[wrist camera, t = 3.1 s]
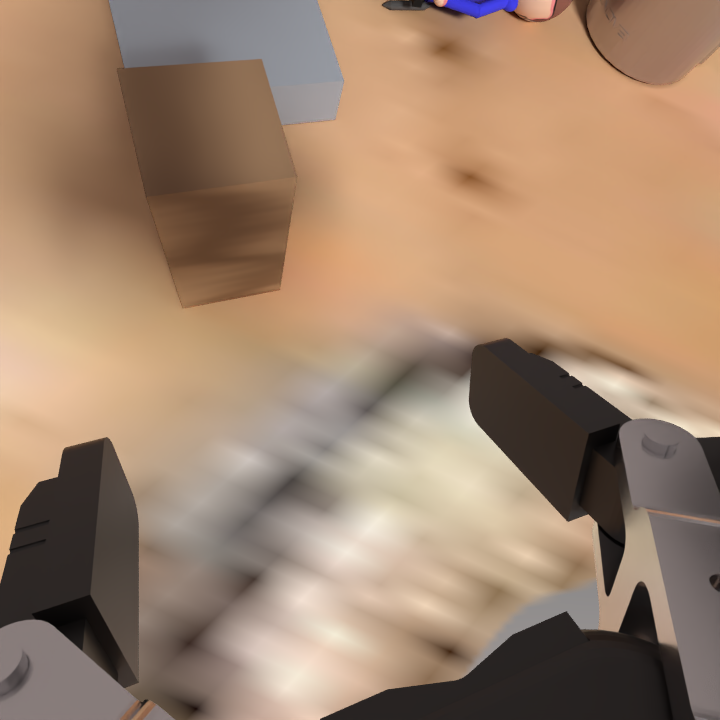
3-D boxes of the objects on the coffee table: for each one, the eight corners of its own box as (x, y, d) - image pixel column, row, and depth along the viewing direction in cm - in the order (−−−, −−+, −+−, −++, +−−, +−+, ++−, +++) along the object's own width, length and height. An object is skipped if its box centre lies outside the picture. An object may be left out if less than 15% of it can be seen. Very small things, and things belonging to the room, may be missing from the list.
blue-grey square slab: (288, -25, 33) (292, -75, 30) (335, 119, 31) (344, 80, 28) (105, -21, 30) (91, -76, 27) (143, 139, 28) (131, 98, 25)
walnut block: (256, 207, 28) (261, 58, 19) (279, 289, 27) (297, 176, 18) (162, 221, 27) (116, 68, 17) (183, 308, 26) (146, 197, 16)
